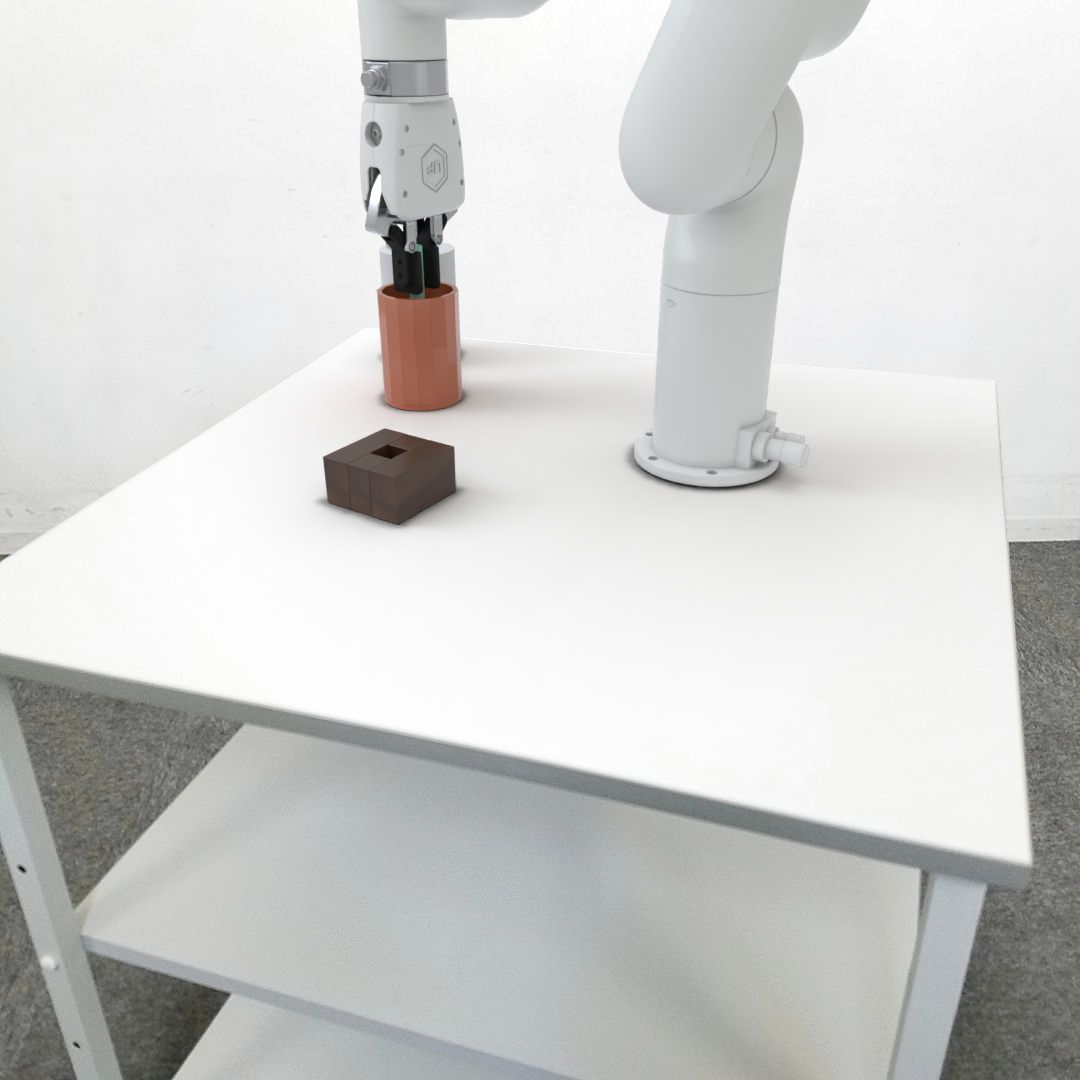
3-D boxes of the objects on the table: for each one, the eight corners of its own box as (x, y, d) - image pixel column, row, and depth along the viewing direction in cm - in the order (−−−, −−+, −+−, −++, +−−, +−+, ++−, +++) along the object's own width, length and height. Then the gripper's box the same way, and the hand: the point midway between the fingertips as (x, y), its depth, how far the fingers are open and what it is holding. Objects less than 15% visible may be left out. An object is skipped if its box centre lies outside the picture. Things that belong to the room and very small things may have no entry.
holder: (456, 491, 85) (454, 446, 83) (397, 524, 80) (394, 477, 78) (387, 471, 89) (384, 427, 87) (327, 502, 83) (322, 456, 81)
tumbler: (477, 393, 106) (473, 286, 101) (429, 416, 101) (423, 304, 95) (417, 380, 110) (412, 276, 105) (368, 401, 104) (360, 292, 99)
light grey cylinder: (463, 346, 121) (460, 241, 116) (451, 367, 114) (447, 257, 108) (395, 344, 122) (388, 240, 116) (379, 365, 115) (371, 255, 109)
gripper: (378, 89, 84) (393, 313, 93) (492, 79, 96) (496, 278, 104) (311, 86, 88) (331, 301, 96) (429, 76, 99) (437, 269, 108)
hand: (417, 288), depth 100 cm, fingers closed
